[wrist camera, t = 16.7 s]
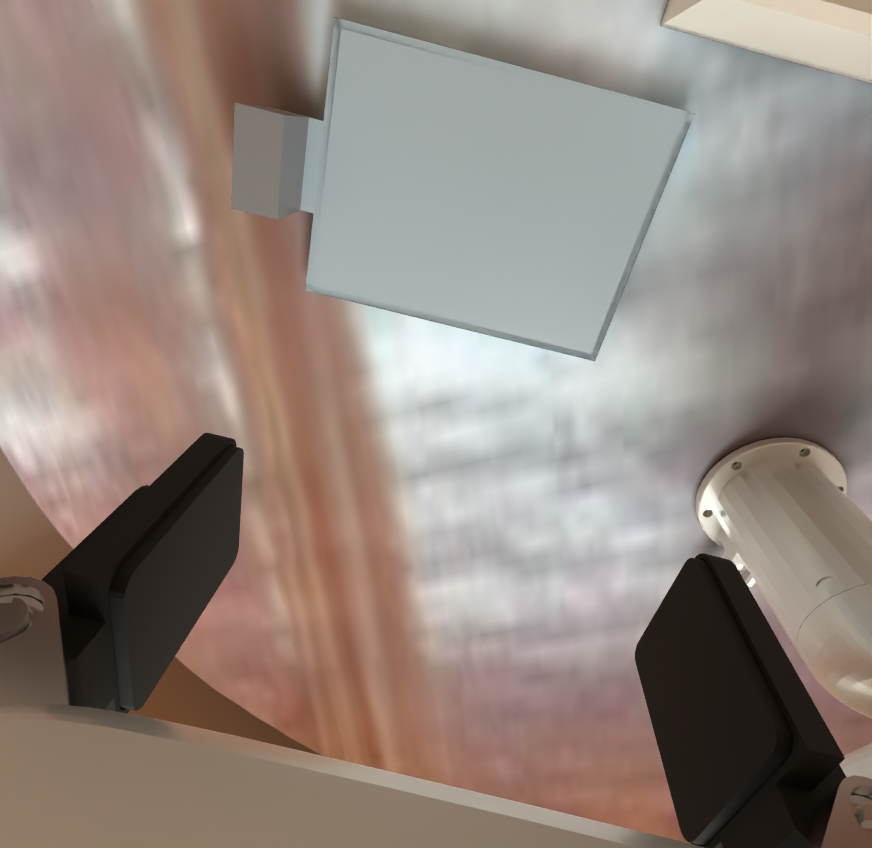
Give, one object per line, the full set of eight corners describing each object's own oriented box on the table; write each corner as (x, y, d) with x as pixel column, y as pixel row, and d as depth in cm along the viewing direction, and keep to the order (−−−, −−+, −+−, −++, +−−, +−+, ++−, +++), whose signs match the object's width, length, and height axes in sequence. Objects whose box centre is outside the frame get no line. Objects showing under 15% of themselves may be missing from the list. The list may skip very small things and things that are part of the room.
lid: (590, 352, 44) (607, 387, 38) (264, 272, 43) (228, 294, 37) (684, 114, 36) (725, 110, 30) (281, 6, 35) (239, -20, 29)
